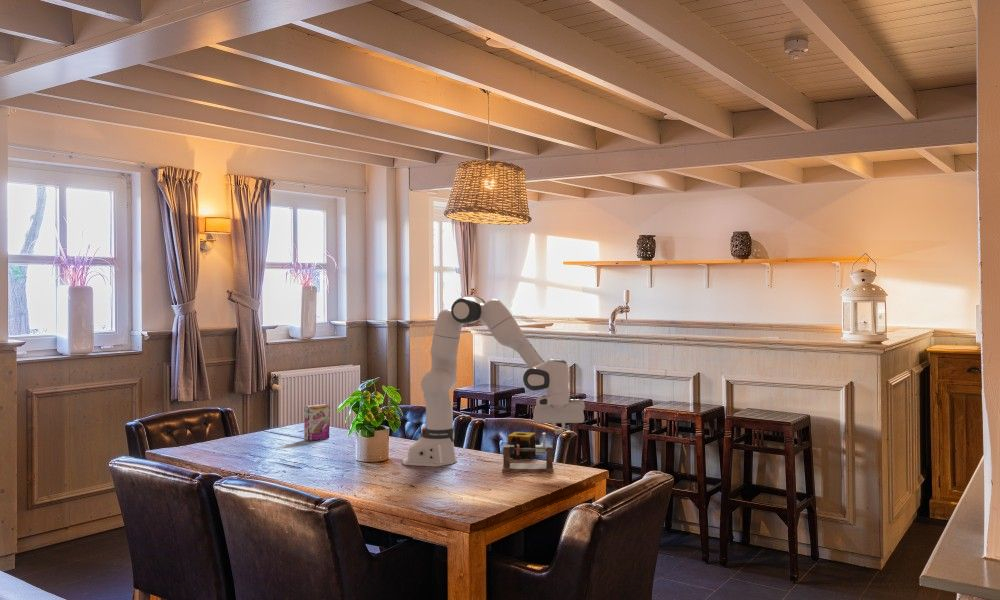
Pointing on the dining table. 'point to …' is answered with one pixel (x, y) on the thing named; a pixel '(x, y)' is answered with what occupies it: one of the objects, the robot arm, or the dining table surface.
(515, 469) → the rod stand
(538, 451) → the sleeve
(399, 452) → the dining table surface
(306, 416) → the candy bar box
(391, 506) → the dining table surface
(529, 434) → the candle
